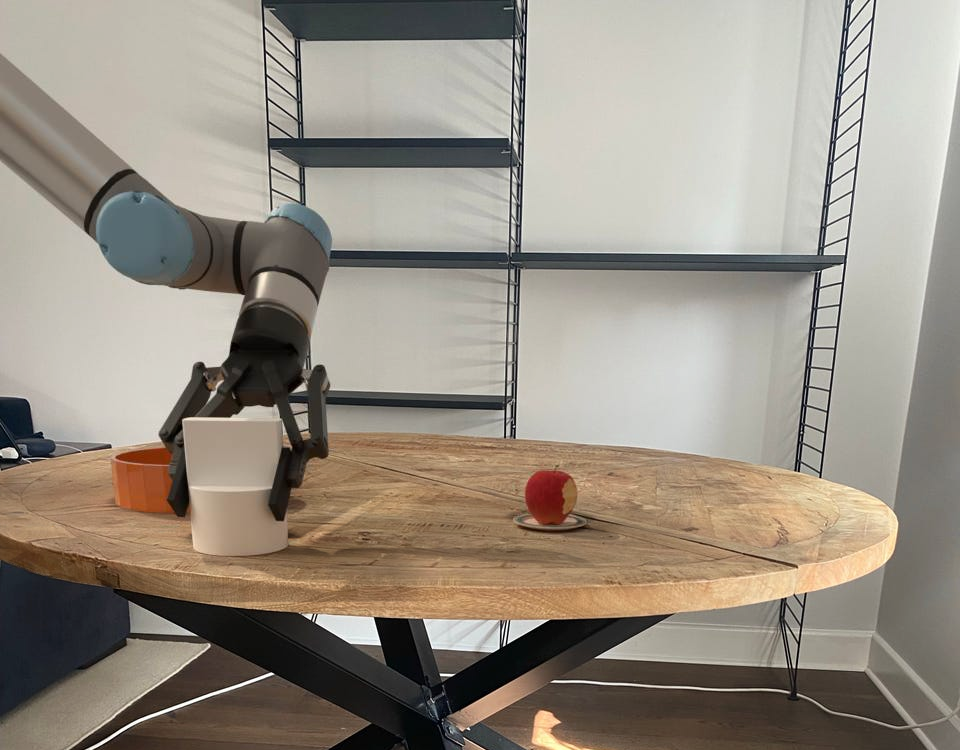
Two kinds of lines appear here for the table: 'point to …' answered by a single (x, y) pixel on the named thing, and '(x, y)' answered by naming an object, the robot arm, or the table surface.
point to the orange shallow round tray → (142, 480)
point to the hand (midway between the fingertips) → (225, 510)
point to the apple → (550, 502)
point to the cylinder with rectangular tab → (233, 484)
